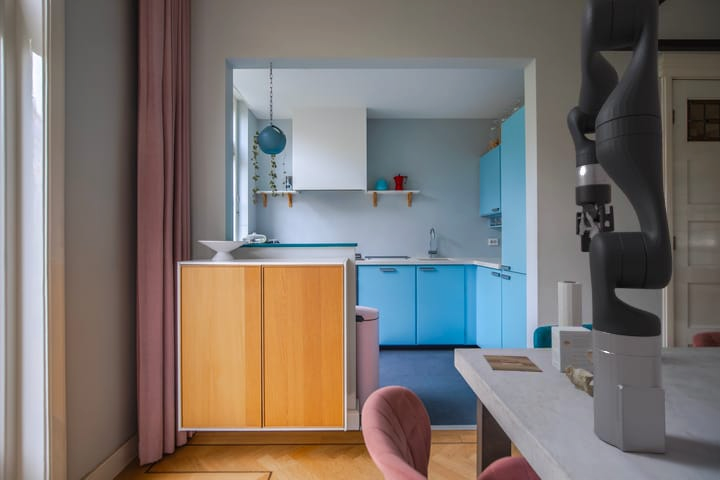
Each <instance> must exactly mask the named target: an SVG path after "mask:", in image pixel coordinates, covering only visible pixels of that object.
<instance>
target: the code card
mask: <svg viewBox="0 0 720 480" xmlns="http://www.w3.org/2000/svg"><path fill="white" fill-rule="evenodd" d="M482 356H483V358H484V359H485V360H486V362H487V363H488V365H489V366H490V367H491V369H492V370H493V371H513V372H514V371H515V372H538V373H539V372H541V373H542V372H543V370H542V369H541V368H540V367H539V366H538V365H537V364H535V363H534V361H533V360H531V359H530V358H529V357H528V356H527V355H525V356H524V355H522V356H521V355H499V354H498V355H496V354H495V355H494V354H493V355H492V354H482Z"/></svg>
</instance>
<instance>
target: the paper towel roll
mask: <svg viewBox="0 0 720 480" xmlns="http://www.w3.org/2000/svg"><path fill="white" fill-rule="evenodd" d="M582 286H583V285H582V282H579V281H578V282H577V281H572V280H571V281H570V280H569V281H567V280H566V281H558V282H557V297H558V298H557V299H558V300H557V301H558V302H557V303H558V305H557V306H558V307H557V308H558V312H557V313H558V315H557V316H558V326H562V327H583V294H582V293H583V290H582Z"/></svg>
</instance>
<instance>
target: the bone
mask: <svg viewBox="0 0 720 480" xmlns="http://www.w3.org/2000/svg"><path fill="white" fill-rule="evenodd" d="M586 357H587V359H588V361H589V362H590V363H591V364H593V350H589V351H588V352H587V353H586ZM564 373H565V375H566V377H567V378H568V380H569V381H570V383H571V384H573V385H574V386H573V388H574V389H577V390H580V391H584V392H585V393H587V395H588V396H589V397H590V396H591V395H593V385H592V384H591V383H592V382H593V373H589V372H588V371H586V370H584V369H581V368H579V369H575V368H574V367H573V366H572V365H570V366H568V367H567V368H566V369H565V372H564Z"/></svg>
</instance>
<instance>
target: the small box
mask: <svg viewBox="0 0 720 480" xmlns="http://www.w3.org/2000/svg"><path fill="white" fill-rule="evenodd" d="M589 350H593V333H592V330H590V329H588V328H586V327H583V326H582V327H562V326H559V325H558V326H551V363H552V364H551V365H552V367H553V368H555V369H556V370H557V371H558V372H560V373H565V369H566V368H567V367H568V366H570V365H572V366H573V367H574V368H575V369H579V368H581V369H584V370H586V371H588V372H589V373H591V374H593V364H591V363H590V362H589V361H588V359H587V357H586V353H587V352H588V351H589Z"/></svg>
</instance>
